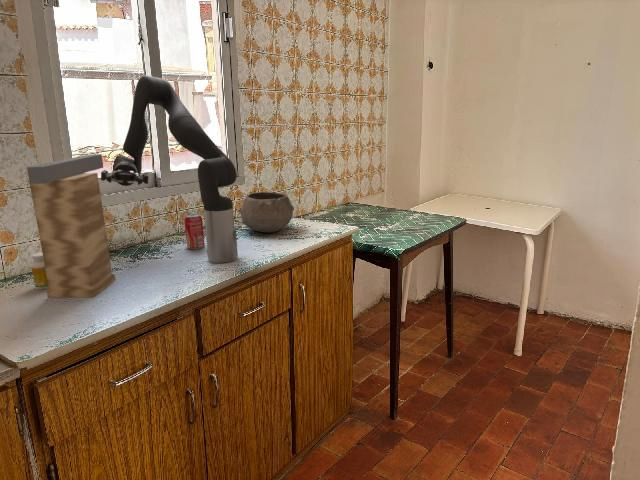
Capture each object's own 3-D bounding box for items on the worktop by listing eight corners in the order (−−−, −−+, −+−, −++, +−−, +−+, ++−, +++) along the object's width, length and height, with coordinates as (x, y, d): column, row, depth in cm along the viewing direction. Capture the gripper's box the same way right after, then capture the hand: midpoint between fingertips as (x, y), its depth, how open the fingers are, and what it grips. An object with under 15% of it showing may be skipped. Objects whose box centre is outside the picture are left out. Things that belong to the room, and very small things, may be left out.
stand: (115, 280, 145) (99, 172, 136) (94, 297, 132) (75, 179, 124) (72, 280, 145) (54, 173, 137) (47, 297, 133) (25, 180, 124)
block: (103, 167, 147) (101, 154, 146) (45, 183, 118) (42, 167, 117) (90, 167, 147) (88, 154, 146) (29, 183, 119) (26, 167, 118)
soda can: (192, 251, 172) (188, 218, 169) (183, 247, 177) (180, 215, 173) (207, 247, 176) (205, 215, 173) (199, 244, 181) (196, 212, 177)
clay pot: (266, 222, 210) (264, 188, 206) (304, 229, 199) (303, 192, 195) (230, 233, 194) (227, 196, 190) (269, 241, 182) (267, 201, 178)
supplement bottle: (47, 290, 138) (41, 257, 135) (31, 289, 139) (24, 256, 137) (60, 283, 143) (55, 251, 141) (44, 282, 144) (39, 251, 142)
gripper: (103, 160, 164) (100, 166, 149) (148, 164, 169) (149, 170, 155) (102, 182, 166) (99, 190, 151) (147, 185, 171) (148, 193, 156)
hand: (124, 180), depth 153 cm, fingers open, 8 cm apart
